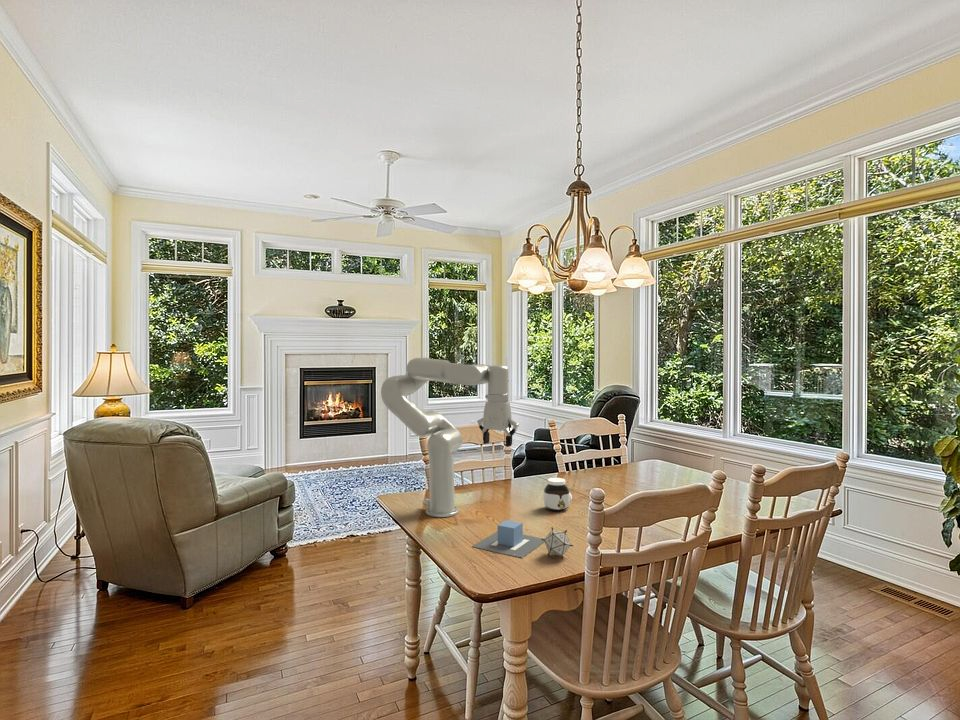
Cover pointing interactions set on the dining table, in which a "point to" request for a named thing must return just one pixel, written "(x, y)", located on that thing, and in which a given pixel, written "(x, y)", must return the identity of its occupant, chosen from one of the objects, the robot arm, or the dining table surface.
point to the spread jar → (557, 495)
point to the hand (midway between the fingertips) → (497, 444)
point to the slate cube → (510, 533)
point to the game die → (557, 542)
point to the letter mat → (519, 550)
